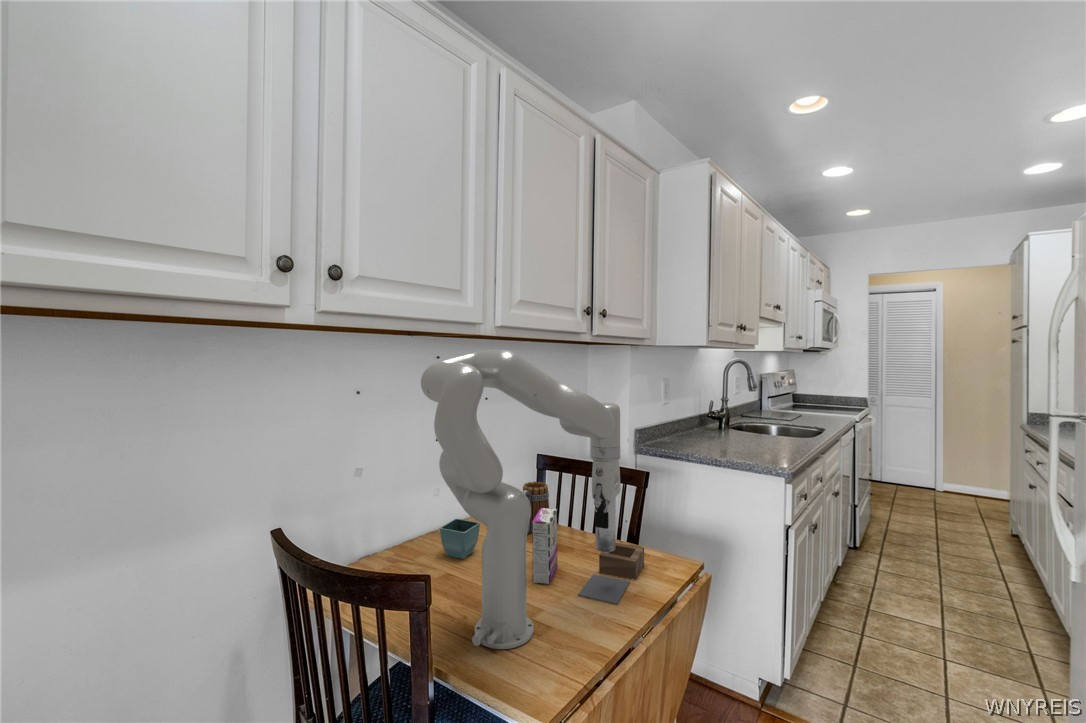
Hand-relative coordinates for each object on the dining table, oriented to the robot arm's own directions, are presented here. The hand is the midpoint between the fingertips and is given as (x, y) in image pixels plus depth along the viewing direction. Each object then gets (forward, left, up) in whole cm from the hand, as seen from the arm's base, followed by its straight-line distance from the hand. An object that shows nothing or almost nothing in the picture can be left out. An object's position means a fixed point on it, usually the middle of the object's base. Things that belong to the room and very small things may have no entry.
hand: (605, 523), depth 122 cm
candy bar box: (+1, +17, -17) cm, 24 cm away
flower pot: (+2, +45, -17) cm, 48 cm away
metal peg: (0, 0, -6) cm, 6 cm away
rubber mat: (0, 0, -17) cm, 17 cm away
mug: (+28, +34, -17) cm, 47 cm away
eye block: (+13, -1, -17) cm, 21 cm away
